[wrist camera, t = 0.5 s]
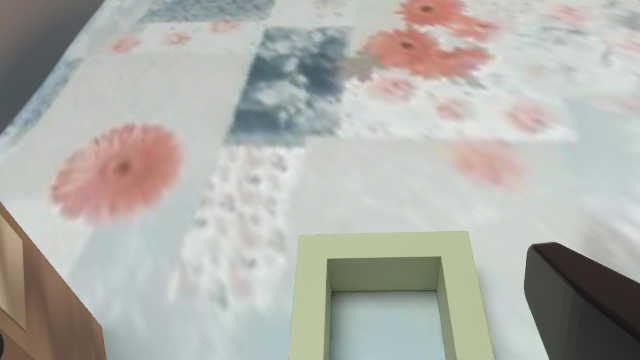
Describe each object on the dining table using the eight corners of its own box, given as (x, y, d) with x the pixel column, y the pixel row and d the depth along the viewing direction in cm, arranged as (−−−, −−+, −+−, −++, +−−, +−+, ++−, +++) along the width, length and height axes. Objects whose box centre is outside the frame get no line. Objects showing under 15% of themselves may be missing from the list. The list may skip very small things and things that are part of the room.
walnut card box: (119, 434, 23) (-50, 281, 14) (37, 473, 22) (-199, 336, 13) (101, 325, 27) (-39, 152, 18) (31, 355, 26) (-152, 188, 17)
